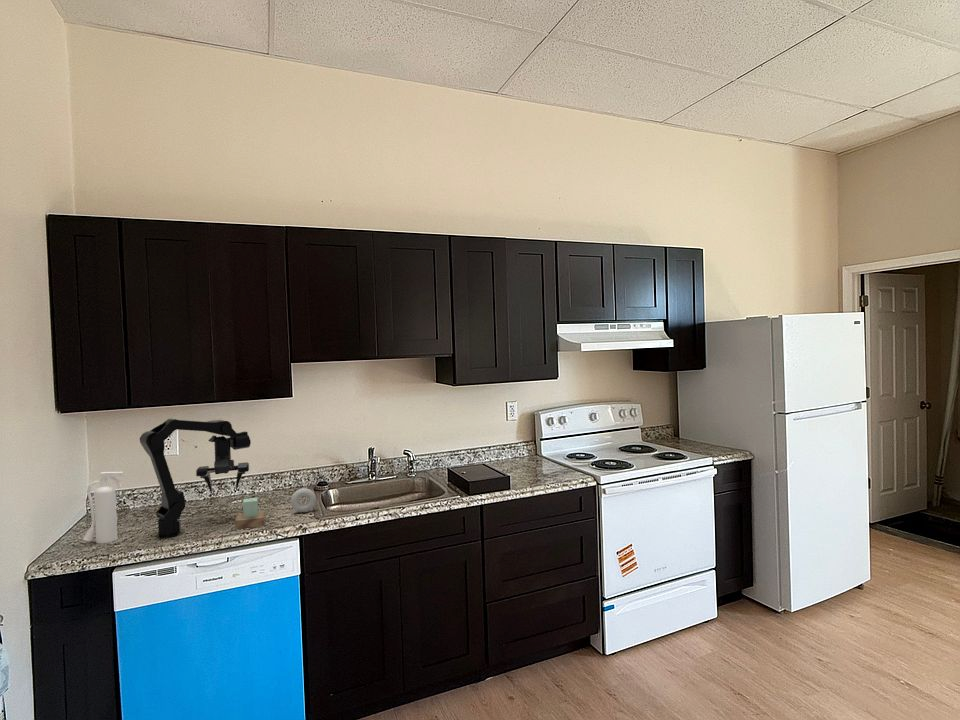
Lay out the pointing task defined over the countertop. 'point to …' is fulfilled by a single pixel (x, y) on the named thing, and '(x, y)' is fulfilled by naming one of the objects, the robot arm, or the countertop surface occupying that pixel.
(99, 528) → the fire extinguisher
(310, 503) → the donut
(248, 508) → the sage block
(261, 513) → the walnut base
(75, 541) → the countertop surface
